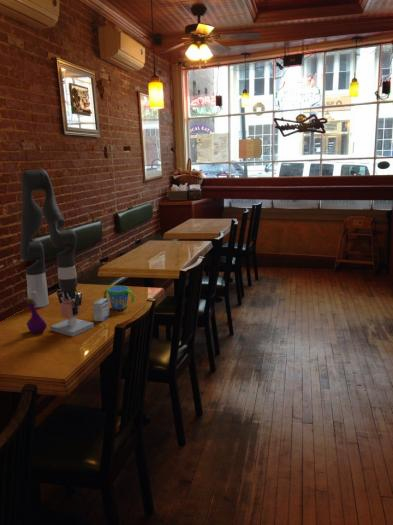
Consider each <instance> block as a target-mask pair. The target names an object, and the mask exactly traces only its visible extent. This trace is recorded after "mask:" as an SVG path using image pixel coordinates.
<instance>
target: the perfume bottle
mask: <svg viewBox="0 0 393 525" xmlns="http://www.w3.org/2000/svg"><path fill="white" fill-rule="evenodd" d="M33 293H37V292H36V291H33V292H32V293H31V294H30V296H31V295H32V294H33ZM37 294H38V293H37ZM38 296H39V294H38ZM25 301H26V302H25V307H28V308H29V309H30V311H31V316H30V318H29V319H28V321H27V322H26V327H27V328H28V330H29V331H30V333H31V334H33V335H36V334H41V333H44V331H46V328H47V326H48V324H47V322H46V320H45V319H44V318H43V317H42V316H41V315H40V314H39V313H38V311H37V309H36V308H35V307H34V305H35V304H36V303H35V302H33V299H30V297H29V299H28V298H27V299H26V300H25Z"/></svg>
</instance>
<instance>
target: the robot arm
mask: <svg viewBox="0 0 393 525" xmlns="http://www.w3.org/2000/svg"><path fill="white" fill-rule="evenodd" d="M20 176H21V177H20V183H21V196H22V198H21V199H22V202H21V203H22V204H21V206H22V208H21V237H20V243H19V245H20V247H19V254H20V258H21V260H22V261H24V262H30V261H35V262H34V263H32V264H31V265H29V266H28V267H26V268H25V277H26V284H27V287H26V292H27V299H29V297H30V299H33V302H35V303H36V304H35V305H34V307H35V309H36V308H37V309H39V308H45V307H47V306H49V303H50V302H49V294H48V285H47V283H48V282H47V275H46V264H45V250H44V244H43V243H42V242H41V241H40V240H38V241H36V240H35V241H31V240H32V239H33V238H34V236H36V234H37V233H39V231H40V229H41V228H42V226H43V220H45V222H46V224H47V226H48V230H49V239H50V243H51V245H52V246H53V247H54V248H57V249H59V248H65V249H64V250H63V251H61V252H59V253H57V255H56V263H57V278H58V288H60V289H57V290H55V292H56V294H57V299H58V303H59V304H61V303H62V302H64V300H66V299H69V301H70V303H71V304H72V307H73V308H72V310H73V315H74V316H75V315H77V316H78V306H80V307H81V306H82V302H83V293H82V292H79V291H77V287H78V277H77V269H76V268H77V267H76V264H75V252H76V247H77V242H78V238H77V237H78V236H77V233H76V231H74V229H71V228H68V229H67V228H66V229H62V228H63V227H65V225H66V221H65V218H64V216H63V213H62V212H61V210H60V207H59V204H58V202H57V198H56V195H55V192H54V188H53V184H52V181H51V179H50V176H49V174H48V172H47V171H46V170H45V169H43V168H38V169H37V168H36V169H28V170H27V169H26V170H23V171H22V173H21V175H20ZM39 191H44V193H45V199H44V203H43V207H42V208H41V207H40V206H39V204H37V202H36V201H35V200H34V198H33V195H32V193H33V192H39ZM43 217H44V219H43ZM61 229H62V230H61ZM33 291H36V292H37V293H38V294H39V296H38V294H37V293H33V294H32V295H31V296H30V294H31V293H32V292H33ZM72 299H74V300H72ZM74 302H75V304H74ZM78 302H79V303H78Z"/></svg>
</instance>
